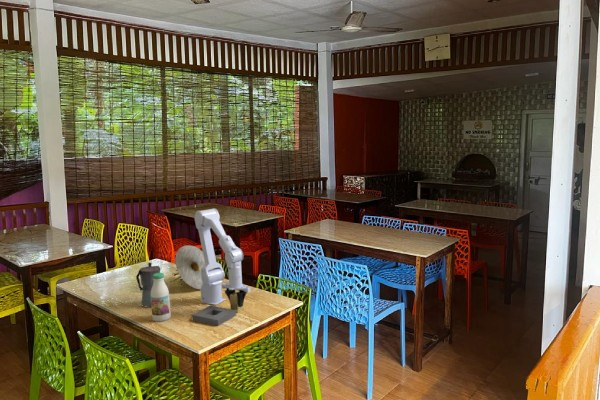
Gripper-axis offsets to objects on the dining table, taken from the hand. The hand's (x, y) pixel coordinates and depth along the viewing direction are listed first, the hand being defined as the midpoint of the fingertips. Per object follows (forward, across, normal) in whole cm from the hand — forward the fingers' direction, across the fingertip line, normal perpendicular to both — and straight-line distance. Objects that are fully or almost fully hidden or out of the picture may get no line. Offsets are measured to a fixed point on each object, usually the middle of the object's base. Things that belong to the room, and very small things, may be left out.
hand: (236, 305), depth 210 cm
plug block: (+2, 0, 0) cm, 2 cm away
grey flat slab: (+2, -4, -11) cm, 12 cm away
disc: (+3, -43, +19) cm, 47 cm away
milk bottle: (+3, -25, -21) cm, 33 cm away
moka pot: (+3, -42, -11) cm, 43 cm away
